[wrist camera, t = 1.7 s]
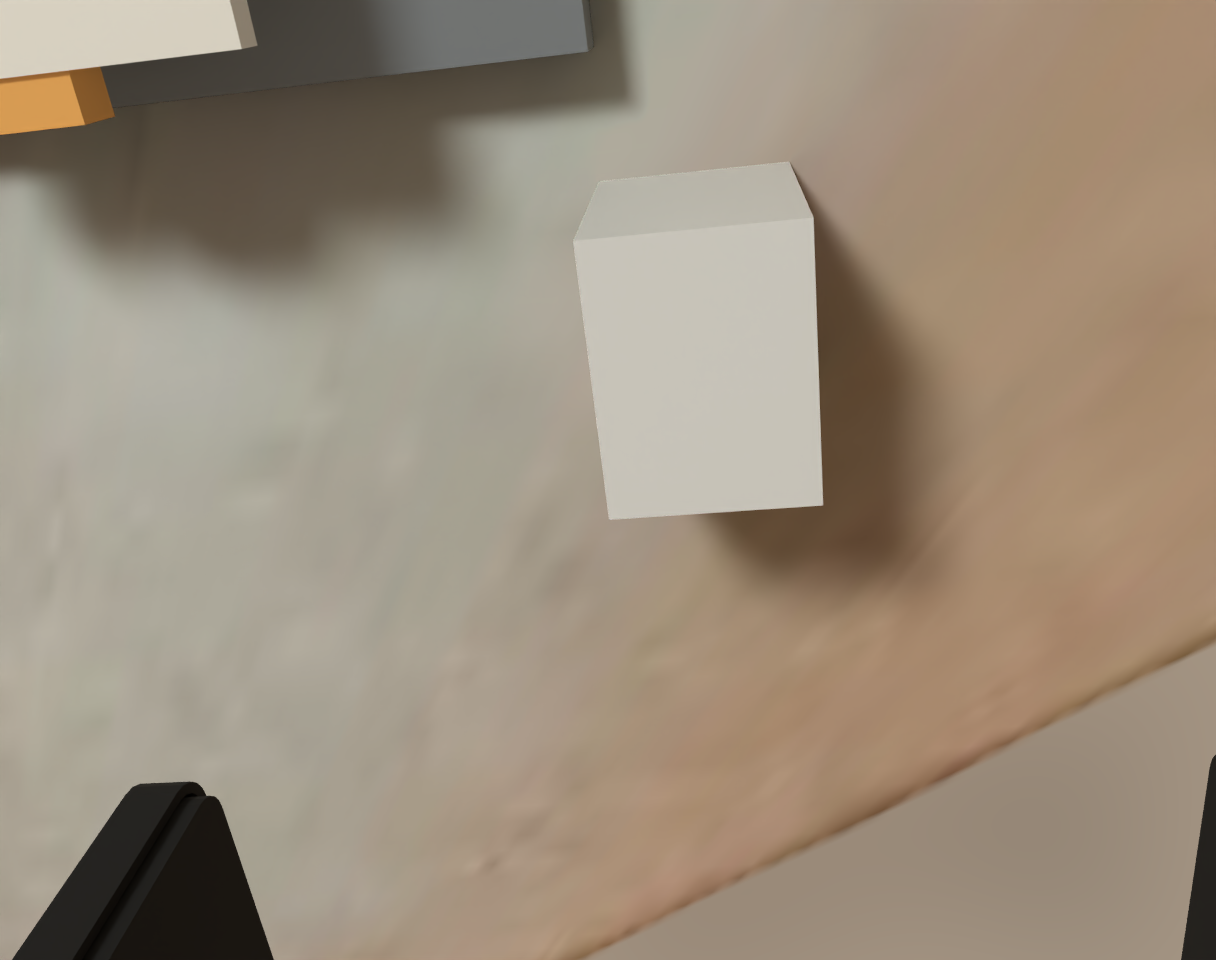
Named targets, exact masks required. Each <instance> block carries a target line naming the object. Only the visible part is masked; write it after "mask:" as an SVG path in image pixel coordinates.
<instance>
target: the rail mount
mask: <svg viewBox="0 0 1216 960" xmlns="http://www.w3.org/2000/svg"><path fill="white" fill-rule="evenodd" d="M247 3H248V8H249V12H250V16H251V20H252V24H253V29H254V33H255V37H256V41H257V46H254V47H249V48H244V49H238V50H230V51H222V52H213V53H205V54H197V55H189V56H181V57H173V58H165V59H157V60H149V61H141V62H132V63H124V64H116V65H108V66H100V68H101V71H102V74H103V78H104V81H105V85H106V88H107V91H108V95H109V98H110V101H111V105H112V108H116V107H125V106H133V105H142V104H150V103H158V102H167V101H175V100H184V99H192V98H201V97H209V96H218V95H226V94H234V93H243V92H251V91H260V90H268V89H277V88H285V87H294V86H302V85H310V84H319V83H327V82H336V81H344V80H353V79H361V78H370V77H378V76H386V75H395V74H403V73H412V72H420V71H429V70H437V69H446V68H454V67H463V66H471V65H479V64H488V63H496V62H505V61H513V60H522V59H530V58H539V57H547V56H555V55H564V54H572V53H581V52H588V51H589V50H590V49H591V48H592V47H594V42H593V34H592V25H591V16H590V7H589V0H247Z"/></svg>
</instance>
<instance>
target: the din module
mask: <svg viewBox="0 0 1216 960" xmlns="http://www.w3.org/2000/svg"><path fill="white" fill-rule="evenodd" d="M573 244H574V252H575V260H576V267H577V275H578V283H579V291H580V298H581V306H582V314H583V321H584V329H585V337H586V345H587V352H588V360H589V368H590V376H591V383H592V391H593V399H594V406H595V414H596V422H597V430H598V437H599V445H600V453H601V461H602V468H603V476H604V484H605V491H606V499H607V507H608V515H609V520H614V519H629V518H644V517H658V516H673V515H688V514H703V513H718V512H733V511H748V510H763V509H778V508H793V507H808V506H822V505H823V487H822V457H821V427H820V397H819V367H818V337H817V307H816V277H815V247H814V217H813V215H812V213H811V211H810V208H809V206H808V204H807V201H806V199H805V197H804V194H803V192H802V190H801V187H800V185H799V183H798V181H797V178H796V176H795V174H794V171H793V169H792V167H791V164H790V162H781V163H771V164H761V165H752V166H742V167H732V168H723V169H713V170H704V171H694V172H684V173H675V174H665V175H655V176H646V177H636V178H627V179H617V180H607V181H599V182H598V185H597V187H596V189H595V191H594V194H593V196H592V198H591V201H590V203H589V205H588V208H587V210H586V212H585V215H584V217H583V219H582V221H581V224H580V226H579V228H578V231H577V233H576V235H575V238H574V240H573Z"/></svg>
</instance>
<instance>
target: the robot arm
mask: <svg viewBox="0 0 1216 960" xmlns="http://www.w3.org/2000/svg"><path fill="white" fill-rule="evenodd" d="M12 960H274V959H273V956H272V953H271V950H270V947H269V944H268V941H267V938H266V935H265V932H264V929H263V927H262V924H261V921H260V918H259V915H258V912H257V909H256V906H255V903H254V900H253V897H252V894H251V891H250V888H249V885H248V882H247V879H246V876H245V873H244V870H243V867H242V864H241V861H240V858H239V855H238V852H237V849H236V847H235V844H234V841H233V838H232V835H231V832H230V829H229V826H228V823H227V820H226V817H225V814H224V811H223V808H222V806H221V804H220V802H219V800H218V799H217V798H216V797H214V796H206V794H205V792H204V790H203V788H202V787H201V786H200V785H199V784H198V783H195V782H173V783H150V784H139V785H136V786H134V787H132V788H131V789H130V791H129V792H128V793H127V794H126V795H125V796H124V798H123V799H122V801H121V802H120V804H119V805H118V807H117V808H116V809H115V811H114V812H113V814H112V815H111V817H110V818H109V820H108V821H107V823H106V824H105V825H104V827H103V828H102V830H101V831H100V833H99V834H98V836H97V837H96V839H95V840H94V841H93V843H92V844H91V846H90V847H89V849H88V850H87V852H86V853H85V855H84V856H83V857H82V859H81V860H80V862H79V863H78V865H77V866H76V868H75V869H74V870H73V872H72V873H71V875H70V876H69V878H68V879H67V881H66V882H65V884H64V885H63V886H62V888H61V889H60V891H59V892H58V894H57V895H56V897H55V898H54V900H53V901H52V902H51V904H50V905H49V907H48V908H47V910H46V911H45V913H44V914H43V916H42V917H41V918H40V920H39V921H38V923H37V924H36V926H35V927H34V929H33V930H32V932H31V933H30V934H29V936H28V937H27V939H26V940H25V942H24V943H23V945H22V946H21V947H20V949H19V950H18V952H17V953H16V955H15V956H14V958H13V959H12ZM1181 960H1216V755H1215V756H1214V757H1213V759H1212V762H1211V765H1210V770H1209V777H1208V783H1207V790H1206V797H1205V804H1204V810H1203V818H1202V824H1201V830H1200V837H1199V844H1198V850H1197V857H1196V864H1195V871H1194V877H1193V884H1192V891H1191V898H1190V904H1189V911H1188V918H1187V924H1186V931H1185V938H1184V944H1183V951H1182V958H1181Z"/></svg>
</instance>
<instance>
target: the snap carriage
mask: <svg viewBox="0 0 1216 960" xmlns="http://www.w3.org/2000/svg"><path fill="white" fill-rule="evenodd" d="M254 46H257V41H256V37H255V33H254V29H253V24H252V20H251V16H250V12H249V8H248V3H247V0H0V135H3V134H12V133H20V132H29V131H37V130H46V129H55V128H63V127H72V126H80V125H87V124H90V123H94V122H97V121H101V120H104V119H108V118H111V117H115V115H114V111H113V108H112V105H111V101H110V98H109V95H108V91H107V88H106V85H105V81H104V78H103V74H102V71H101V68H100V66H108V65H116V64H124V63H132V62H141V61H149V60H157V59H165V58H173V57H181V56H189V55H197V54H205V53H213V52H222V51H230V50H238V49H244V48H249V47H254Z"/></svg>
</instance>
